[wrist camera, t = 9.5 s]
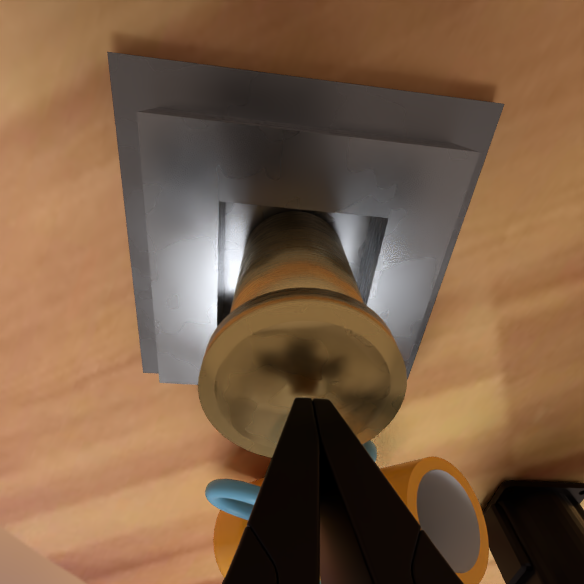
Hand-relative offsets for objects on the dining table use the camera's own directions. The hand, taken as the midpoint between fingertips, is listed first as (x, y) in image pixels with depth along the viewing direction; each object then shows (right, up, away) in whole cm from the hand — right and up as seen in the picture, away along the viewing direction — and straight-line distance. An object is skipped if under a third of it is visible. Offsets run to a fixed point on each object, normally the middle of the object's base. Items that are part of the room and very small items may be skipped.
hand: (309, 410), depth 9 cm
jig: (0, +5, +8) cm, 9 cm away
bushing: (0, +4, +7) cm, 9 cm away
